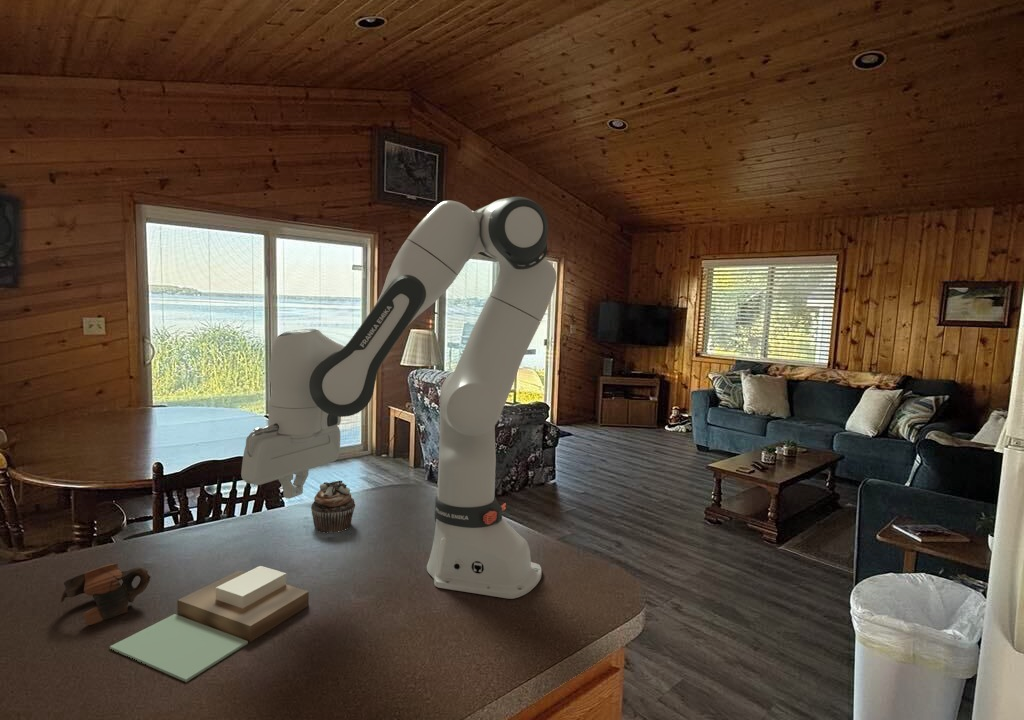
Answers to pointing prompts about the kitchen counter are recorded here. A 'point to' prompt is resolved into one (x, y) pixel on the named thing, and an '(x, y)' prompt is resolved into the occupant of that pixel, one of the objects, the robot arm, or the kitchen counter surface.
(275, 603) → the board
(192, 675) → the mat
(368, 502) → the kitchen counter surface
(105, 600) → the pottery mug
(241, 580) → the cream rectangular block
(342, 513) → the cupcake
